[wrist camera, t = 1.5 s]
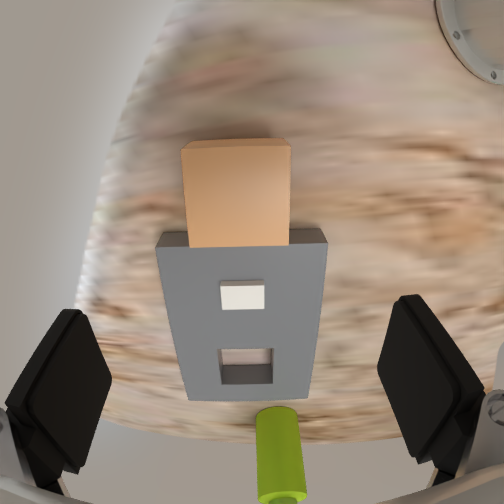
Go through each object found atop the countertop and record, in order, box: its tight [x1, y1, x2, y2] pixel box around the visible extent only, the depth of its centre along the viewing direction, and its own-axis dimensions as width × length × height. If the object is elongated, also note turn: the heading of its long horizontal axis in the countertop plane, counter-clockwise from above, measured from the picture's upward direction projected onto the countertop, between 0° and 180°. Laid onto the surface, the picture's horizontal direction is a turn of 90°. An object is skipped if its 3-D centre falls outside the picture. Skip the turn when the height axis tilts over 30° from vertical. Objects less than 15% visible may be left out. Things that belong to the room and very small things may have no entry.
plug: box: [181, 138, 291, 248], centre depth 23 cm, size 7×7×7 cm
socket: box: [155, 229, 328, 401], centre depth 31 cm, size 20×14×4 cm
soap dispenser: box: [256, 407, 307, 504], centre depth 32 cm, size 6×7×20 cm
